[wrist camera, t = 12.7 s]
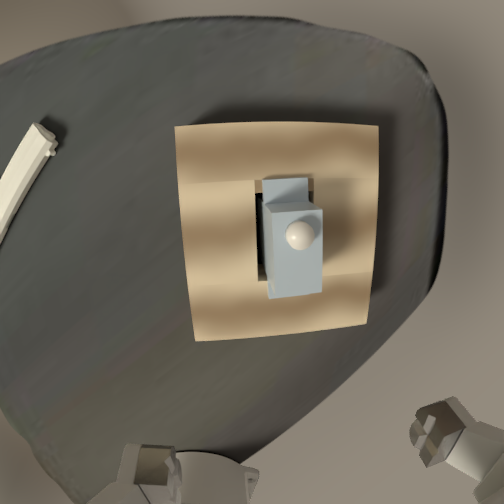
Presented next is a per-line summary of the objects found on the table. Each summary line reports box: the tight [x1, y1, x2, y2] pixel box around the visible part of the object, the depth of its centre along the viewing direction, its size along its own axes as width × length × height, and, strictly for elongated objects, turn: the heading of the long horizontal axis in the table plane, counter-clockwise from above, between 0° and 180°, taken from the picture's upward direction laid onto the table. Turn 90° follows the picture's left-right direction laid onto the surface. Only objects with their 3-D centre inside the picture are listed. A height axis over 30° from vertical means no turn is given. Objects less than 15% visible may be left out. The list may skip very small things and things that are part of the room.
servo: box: [257, 177, 323, 299], centre depth 25 cm, size 10×3×9 cm, turn 4°
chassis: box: [175, 122, 379, 341], centre depth 27 cm, size 18×16×4 cm
